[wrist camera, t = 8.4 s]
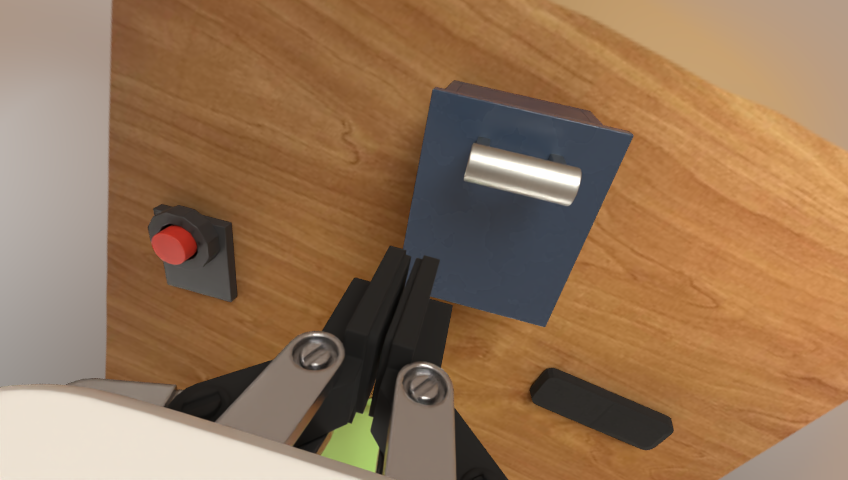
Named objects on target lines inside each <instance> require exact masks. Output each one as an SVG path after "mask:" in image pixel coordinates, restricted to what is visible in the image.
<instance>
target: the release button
mask: <svg viewBox="0 0 848 480" xmlns="http://www.w3.org/2000/svg"><path fill="white" fill-rule="evenodd" d="M152 247H153V249H154V251H155V253H156V254H157V255H158V256H159V257H160V258H161V259H162V260H164V261H165V262H167V263H170V264H174V265H178V264H181V263H183V262H184V261H186V260H187V259H189V258H190V257H191V256H193V255H194V254H195V253H196V251H197V243H196V241H195V240H194V238H193V237H192V235H191V233H189V232H188V231H187V230H185V229H184V228H182V227H180V226H175V225H174V226H169V227H167V228H165V229H164V230H162V231H160V232H159V233H157V234H155V235H154V236H153V238H152Z"/></svg>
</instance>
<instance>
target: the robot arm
mask: <svg viewBox="0 0 848 480" xmlns="http://www.w3.org/2000/svg"><path fill="white" fill-rule="evenodd" d="M410 262H411V256H409V255H406V250H404V249H401V248H397V247H393V246H389V248H388V250H387V252H386V254H385V256H384V257H383V259H382V261H381V263H380V265H379V267H378V269H377V271H376V273H375V274H374V276H373V278H372V280H371V282H369V281H366V280H362V279H359V278H354V279H353V280H352V282H351V284H350V285H349V287H348V289H347V290H346V292H345V294H344V295H343V297H342V299H341V300H340V302H339V304H338V305H337V307H336V309H335V310H334V312H333V314H332V315H331V317H330V319H329V320H328V322H327V324H326V325H325V327H324V329H323V330H322V331H311V332H305V333H303V334H301V335H298V336H297V337H295V338H294V339H293V340H292V341H291V342H290V343H289V344H288V345H287V346H286V347H285V348H284V349H283V350H282V351H281V352H280V353H279V354H278V355H277V356H276V358H275V359H274V360H271V361H267V362H264V363H261V364H258V365H255V366H252V367H248V368H245V369H242V370H239V371H236V372H232V373H229V374H226V375H223V376H220V377H217V378H213V379H210V380H207V381H204V382H201V383H197V384H195V385H193V386H190V387H188V388H186V389H185V390H178V389H177V385H172V384H160V383H147V382H135V381H123V380H111V379H98V378H91V379H81V380H78V381H74V382H71V383H68V384H66V385H54V384H31V385H12V386H4V387H0V480H508V479H507V477H506V476H505V475H504V473H503V472H502V471H501V469H500V468H499V467H498V465H497V464H496V463H495V461H494V460H493V459H492V457H491V456H490V455H489V453H488V452H487V451H486V449H485V448H484V447H483V445H482V444H481V443H480V441H479V440H478V439H477V437H476V436H475V435H474V433H473V432H472V431H471V429H470V428H469V427H468V425H467V424H466V422H465V421H464V420H463V418H462V417H461V416H460V414H459V413H458V412H457V410H456V409H455V408H454V389H453V384H452V381H451V379H450V377H449V376H448V374H447V373H446V372H445V371H444V370H443V369H441V364H442V359H443V354H444V349H445V343H446V338H447V333H448V328H449V323H450V318H451V312H452V307H453V305H450V304H446V303H443V302H439V301H436V300H432V299H430V295H431V291H432V288H433V284H434V281H435V277H436V273H437V270H438V266H439V262H440V259H436V258H433V257H429V256H426V255H424V257H423V259H420V258H416V260H415V262H414V265H413V268H412V270H411V273H410V275H409V278H408V280H407V283H406V279H407V275H408V270H409V266H410ZM405 284H406V286H405ZM375 380H376V382H375ZM374 383H375V386H374ZM373 386H374V391H373V396H372V401H371V405H370V410H369V415H368V416H370V417H373V421H372V425H371V429H370V432H371V434H372V435H373V437H374V439H375V441H376V443H377V445H378V446H379V450H378V454H377V461H376V468H375V473H374V472H371V471H368V470H365V469H362V468H358V467H355V466H352V465H349V464H346V463H343V462H339V461H336V460H333V459H330V458H327V457H324V456H321V454H322V453H323V451H324V450H325V448H326V446H327V445H328V443H329V441H330V440H331V438H332V435H333V433H334V430H335V429H338V428H340V427H342V426H344V425H346V424H348V423H351V424H352V422H353V419H354V417H355V414H356V412H357V413H360V414H363V412H364V410H365V407H366V405H367V402H368V399H369V396H370V394H371V391H372V388H373Z"/></svg>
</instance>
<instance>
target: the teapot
mask: <svg viewBox="0 0 848 480" xmlns="http://www.w3.org/2000/svg"><path fill="white" fill-rule="evenodd" d="M371 401H372V398H371V399H368V402H367V405H366V407H365V410H364V412H363V414H360V413H357V412H356V414H355V417H354V419H353V422H352V424H351V423H348V424H346V425H344V426H342V427H340V428H338V429H335V430H334V433H333V435H332V438H331V440H330V441H329V443H328V445H327V446H326V448H325V450H324V451H323V453H322V454H321V456H324V457H327V458H330V459H333V460H336V461H339V462H343V463H346V464H349V465H352V466H355V467H358V468H362V469H365V470H368V471H371V472H374V473H375V468H376V461H377V454H378V450H379V446H378V445H377V443H376V441H375V439H374V437H373V435H372V434H371V432H370V429H371V425H372V421H373V417H370V416H368V415H369V410H370V405H371Z"/></svg>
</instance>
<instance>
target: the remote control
mask: <svg viewBox="0 0 848 480" xmlns="http://www.w3.org/2000/svg"><path fill="white" fill-rule="evenodd" d="M530 394H531V398H532V401H533V403H535V404H536V405H538V406H541V407H543V408H545V409H548V410H550V411H552V412H555V413H557V414H559V415H562V416H564V417H566V418H569V419H571V420H574V421H576V422H578V423H581V424H583V425H585V426H588V427H590V428H592V429H595V430H597V431H599V432H602V433H604V434H607V435H609V436H611V437H614V438H616V439H618V440H621V441H623V442H625V443H628V444H630V445H632V446H635V447H637V448H640V449H642V450H650V449H653V448H655V447H656V446H657V445H658V444H660V443H661V442H662V441H664V440H665V439H666V438H667V437H669V436H670V435H671V434H672V433H673V431H674V430H673V425H672V421H671V418H670V417H668V416H666V415H664V414H661V413H659V412H657V411H654V410H652V409H650V408H647V407H645V406H643V405H640V404H638V403H635V402H633V401H631V400H628V399H626V398H624V397H621V396H619V395H617V394H614V393H612V392H610V391H607V390H605V389H603V388H600V387H598V386H596V385H593V384H591V383H589V382H586V381H584V380H582V379H579V378H577V377H574V376H572V375H570V374H567V373H565V372H563V371H560V370H558V369H555V368H549V369H546V370H545V371H544V372H543V373H542V374H541V375H540V377H539V378H538V379H537V380H536V382H535V383H534V384H533V385H532V386H531V388H530Z"/></svg>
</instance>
